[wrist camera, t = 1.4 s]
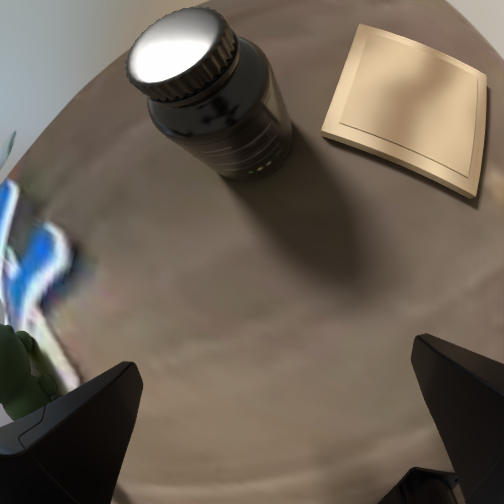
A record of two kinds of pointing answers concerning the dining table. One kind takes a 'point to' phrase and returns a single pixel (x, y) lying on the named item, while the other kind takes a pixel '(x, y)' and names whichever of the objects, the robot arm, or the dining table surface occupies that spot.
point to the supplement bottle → (212, 93)
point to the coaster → (411, 108)
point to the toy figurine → (20, 376)
